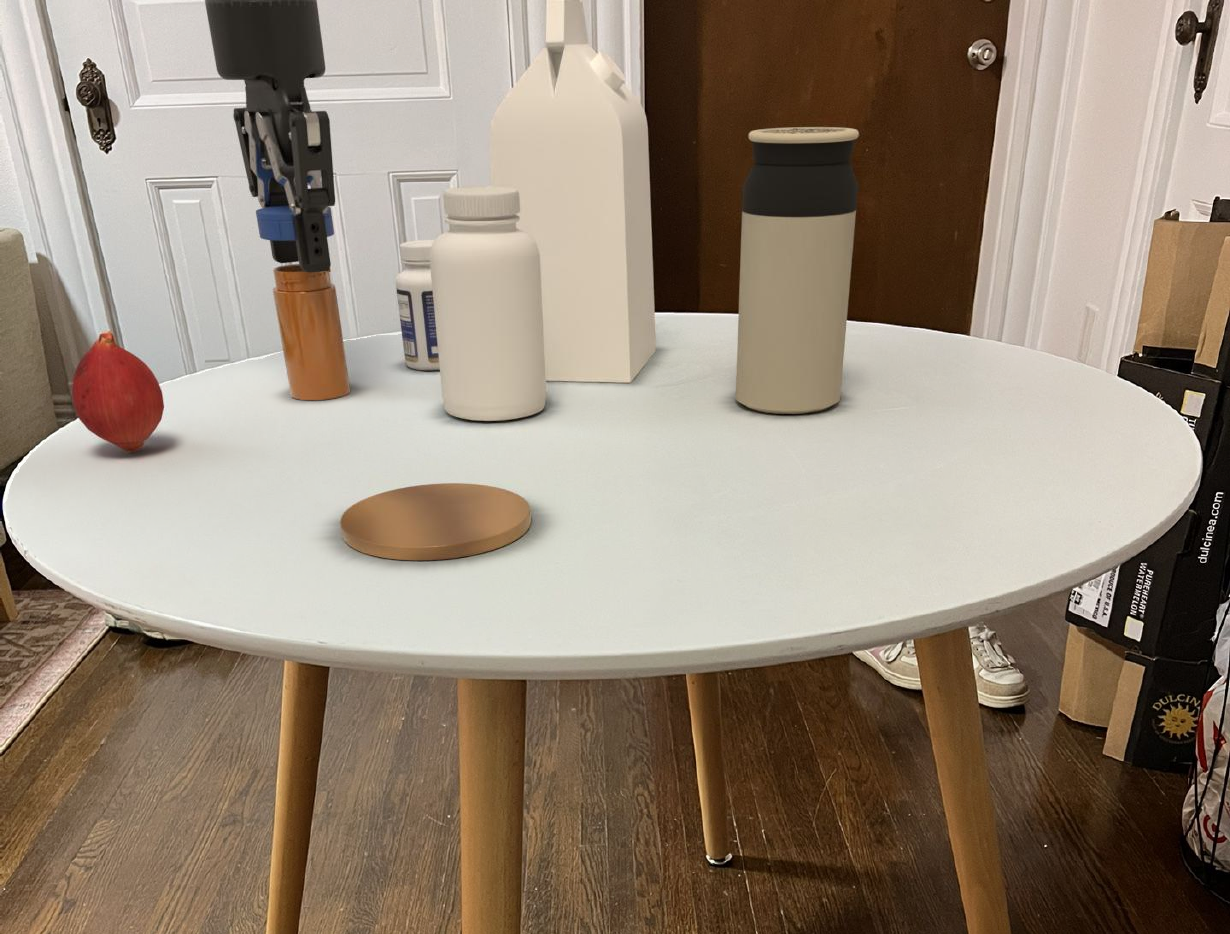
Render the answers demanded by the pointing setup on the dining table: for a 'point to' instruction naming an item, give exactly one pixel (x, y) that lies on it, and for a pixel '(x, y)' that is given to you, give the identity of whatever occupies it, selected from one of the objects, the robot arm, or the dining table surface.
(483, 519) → the coaster
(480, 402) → the pill bottle
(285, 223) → the lid
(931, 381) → the dining table surface
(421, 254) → the pill bottle
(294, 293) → the jar
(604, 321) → the milk
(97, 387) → the onion
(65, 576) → the dining table surface
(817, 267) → the travel mug
